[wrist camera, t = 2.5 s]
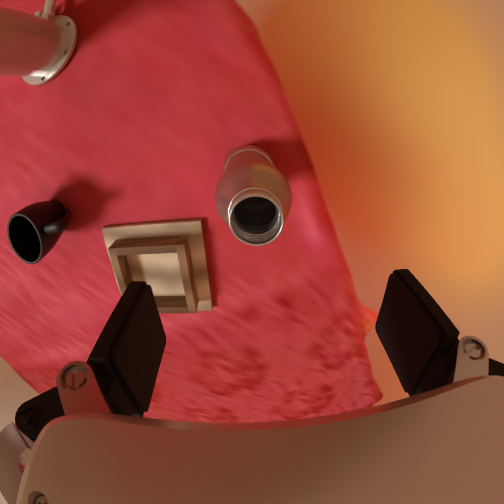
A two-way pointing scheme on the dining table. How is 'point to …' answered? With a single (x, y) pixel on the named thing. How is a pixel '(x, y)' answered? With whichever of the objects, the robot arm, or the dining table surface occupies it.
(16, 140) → the dining table surface
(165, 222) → the bottle stand
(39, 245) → the mug
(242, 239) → the plastic bottle
